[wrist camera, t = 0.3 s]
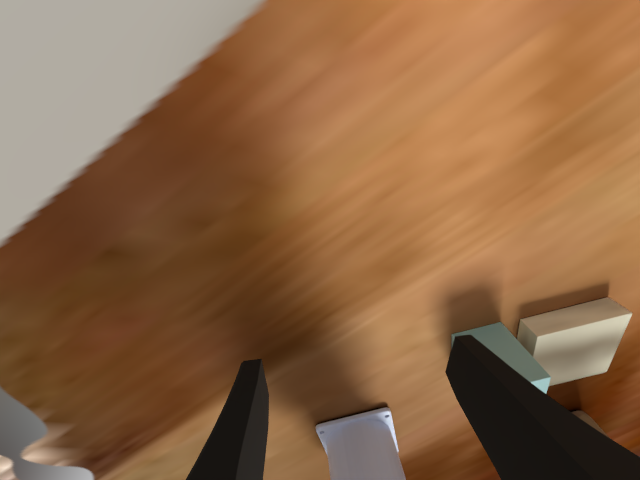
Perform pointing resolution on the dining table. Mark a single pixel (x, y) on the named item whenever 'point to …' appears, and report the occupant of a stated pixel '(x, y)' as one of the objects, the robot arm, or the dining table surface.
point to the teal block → (510, 352)
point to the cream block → (575, 338)
